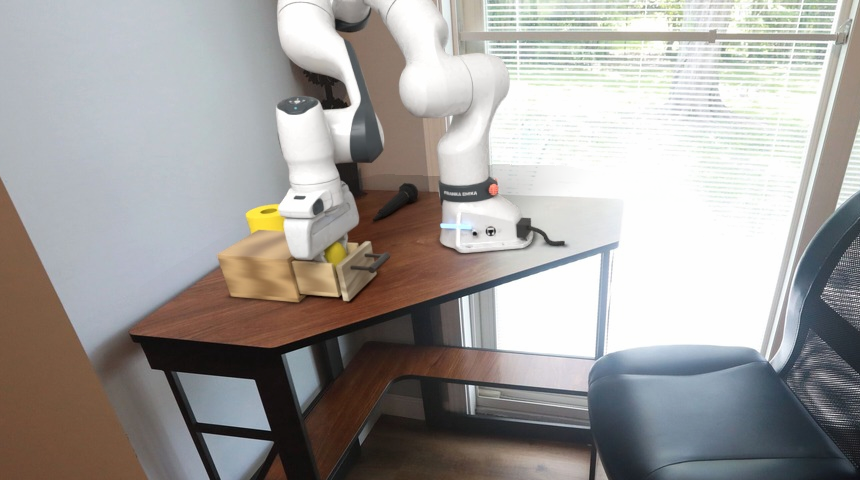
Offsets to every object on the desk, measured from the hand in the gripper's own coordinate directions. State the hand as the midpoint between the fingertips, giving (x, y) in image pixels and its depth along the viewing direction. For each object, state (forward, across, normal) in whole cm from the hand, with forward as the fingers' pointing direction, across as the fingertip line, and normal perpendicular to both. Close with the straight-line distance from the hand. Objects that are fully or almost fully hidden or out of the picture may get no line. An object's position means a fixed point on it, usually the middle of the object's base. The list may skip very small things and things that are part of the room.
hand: (334, 263), depth 113 cm
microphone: (+6, -48, -10) cm, 50 cm away
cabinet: (+6, 0, -13) cm, 14 cm away
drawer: (+5, 0, +1) cm, 5 cm away
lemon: (+3, 0, 0) cm, 3 cm away
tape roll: (+6, -17, -25) cm, 31 cm away
